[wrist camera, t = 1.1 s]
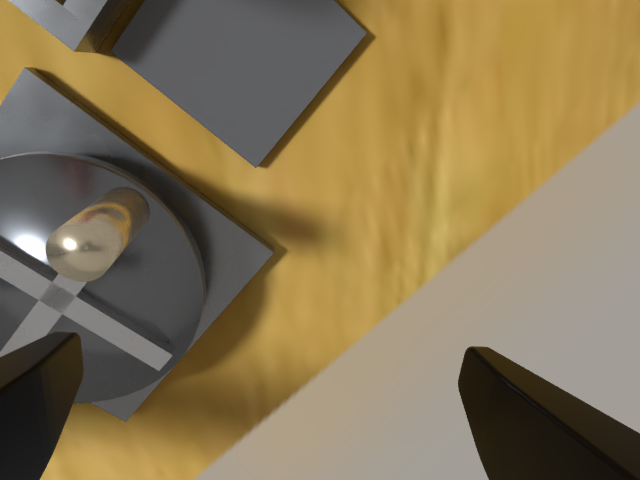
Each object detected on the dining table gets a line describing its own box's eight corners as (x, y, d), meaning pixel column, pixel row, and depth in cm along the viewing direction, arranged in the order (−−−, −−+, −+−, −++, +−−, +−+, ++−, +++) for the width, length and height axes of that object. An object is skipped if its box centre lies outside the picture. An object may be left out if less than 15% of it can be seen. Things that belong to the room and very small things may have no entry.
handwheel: (116, 425, 22) (68, 531, 17) (-120, 300, 19) (-264, 385, 14) (257, 263, 20) (250, 330, 15) (16, 88, 16) (-100, 98, 11)
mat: (256, 166, 20) (255, 168, 19) (113, 51, 18) (110, 51, 17) (364, 33, 18) (366, 32, 18) (222, -109, 16) (221, -113, 16)
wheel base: (129, 413, 24) (121, 432, 23) (-107, 284, 20) (-132, 298, 19) (273, 247, 21) (273, 258, 20) (32, 67, 18) (14, 67, 16)
